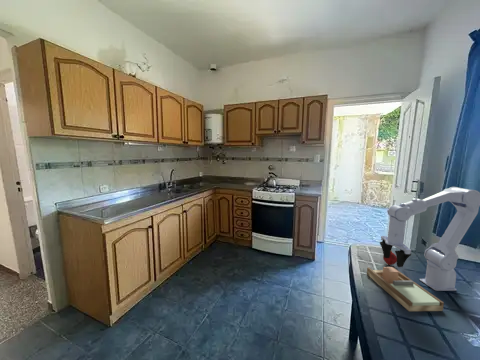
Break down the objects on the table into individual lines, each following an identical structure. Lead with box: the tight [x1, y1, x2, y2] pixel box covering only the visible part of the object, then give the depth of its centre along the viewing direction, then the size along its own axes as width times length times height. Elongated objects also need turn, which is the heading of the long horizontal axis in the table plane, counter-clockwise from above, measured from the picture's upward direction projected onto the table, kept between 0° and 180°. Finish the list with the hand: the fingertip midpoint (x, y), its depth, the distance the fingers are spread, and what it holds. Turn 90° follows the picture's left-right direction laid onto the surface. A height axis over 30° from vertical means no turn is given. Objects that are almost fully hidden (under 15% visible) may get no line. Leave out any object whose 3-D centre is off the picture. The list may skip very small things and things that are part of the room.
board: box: [366, 266, 445, 312], centre depth 89 cm, size 13×24×3 cm, turn 3°
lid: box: [390, 279, 440, 306], centre depth 82 cm, size 10×11×3 cm
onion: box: [382, 250, 397, 266], centre depth 109 cm, size 6×6×8 cm
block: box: [381, 266, 400, 284], centre depth 94 cm, size 4×4×6 cm
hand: (392, 261), depth 94 cm, fingers open, 7 cm apart
